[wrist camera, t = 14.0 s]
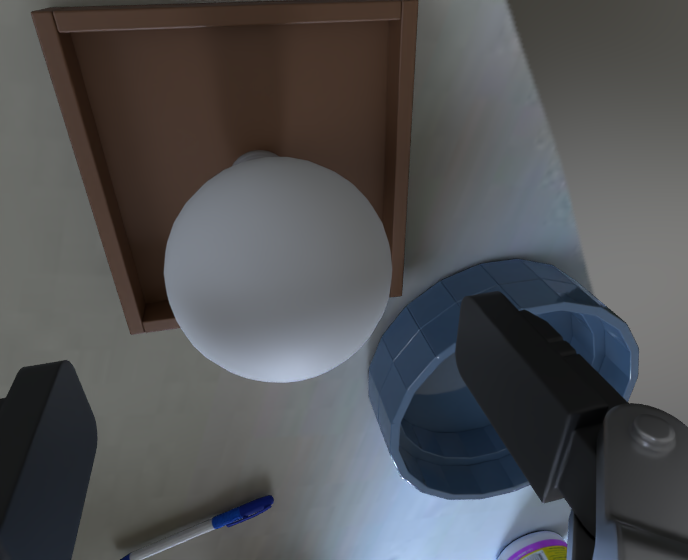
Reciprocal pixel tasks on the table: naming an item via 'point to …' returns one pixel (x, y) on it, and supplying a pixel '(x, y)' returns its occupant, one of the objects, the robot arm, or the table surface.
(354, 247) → the lightbulb
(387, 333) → the bowl
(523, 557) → the supplement bottle
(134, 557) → the ballpoint pen
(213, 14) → the tray
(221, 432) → the table surface
